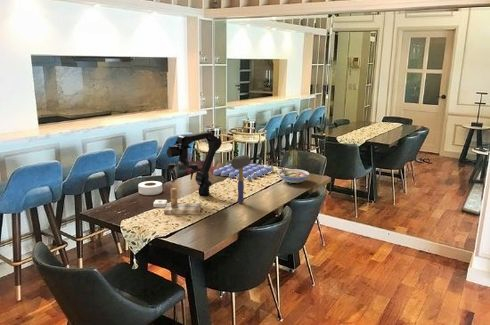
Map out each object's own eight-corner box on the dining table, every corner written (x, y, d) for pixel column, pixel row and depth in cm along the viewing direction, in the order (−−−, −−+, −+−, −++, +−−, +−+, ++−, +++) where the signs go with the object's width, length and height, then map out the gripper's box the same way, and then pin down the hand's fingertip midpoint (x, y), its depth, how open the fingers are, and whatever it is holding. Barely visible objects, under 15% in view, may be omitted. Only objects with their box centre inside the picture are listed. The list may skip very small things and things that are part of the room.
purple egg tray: (272, 172, 323) (272, 166, 322) (250, 182, 295) (250, 176, 294) (236, 166, 342) (236, 161, 340) (212, 175, 313) (212, 169, 312)
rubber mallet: (240, 206, 242) (240, 158, 235) (230, 204, 246) (229, 157, 239) (251, 201, 252) (251, 154, 245) (241, 199, 256) (241, 153, 249)
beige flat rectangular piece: (201, 207, 241) (200, 203, 240) (199, 214, 229) (198, 210, 228) (167, 207, 240) (167, 203, 240) (164, 214, 229) (163, 210, 228)
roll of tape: (152, 187, 281) (152, 179, 280) (167, 191, 272) (166, 183, 270) (133, 192, 270) (133, 184, 268) (148, 196, 260) (148, 188, 259)
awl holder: (167, 203, 247) (167, 199, 246) (165, 207, 240) (164, 203, 239) (155, 203, 246) (155, 199, 246) (153, 207, 240) (153, 203, 239)
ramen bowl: (311, 187, 282) (311, 176, 280) (278, 187, 282) (279, 176, 280) (306, 178, 306) (307, 167, 304) (276, 177, 306) (277, 167, 305)
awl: (177, 208, 237) (176, 187, 234) (178, 210, 233) (178, 189, 230) (170, 209, 236) (169, 188, 233) (171, 211, 232) (171, 190, 229)
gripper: (166, 158, 240) (166, 183, 244) (197, 158, 241) (197, 183, 244) (169, 154, 251) (169, 178, 254) (198, 154, 252) (198, 178, 255)
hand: (183, 179), depth 252 cm, fingers open, 9 cm apart
